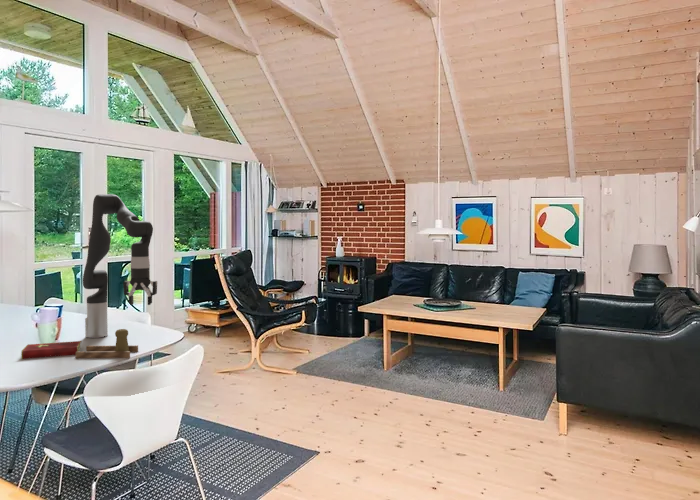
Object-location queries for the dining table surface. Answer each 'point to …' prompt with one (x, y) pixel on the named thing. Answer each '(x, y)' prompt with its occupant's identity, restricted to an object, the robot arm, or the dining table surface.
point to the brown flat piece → (105, 352)
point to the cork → (121, 340)
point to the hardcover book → (50, 349)
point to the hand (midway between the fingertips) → (140, 304)
